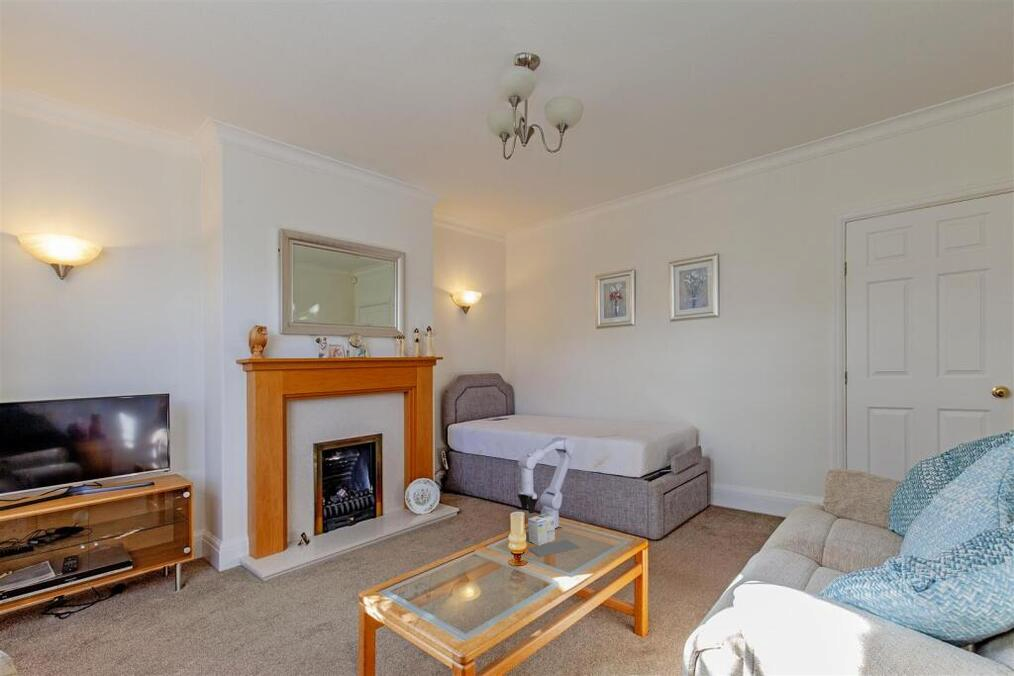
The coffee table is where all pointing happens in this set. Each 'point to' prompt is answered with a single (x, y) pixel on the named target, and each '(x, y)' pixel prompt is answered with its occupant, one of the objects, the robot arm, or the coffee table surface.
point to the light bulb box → (541, 529)
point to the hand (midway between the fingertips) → (527, 511)
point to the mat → (553, 548)
